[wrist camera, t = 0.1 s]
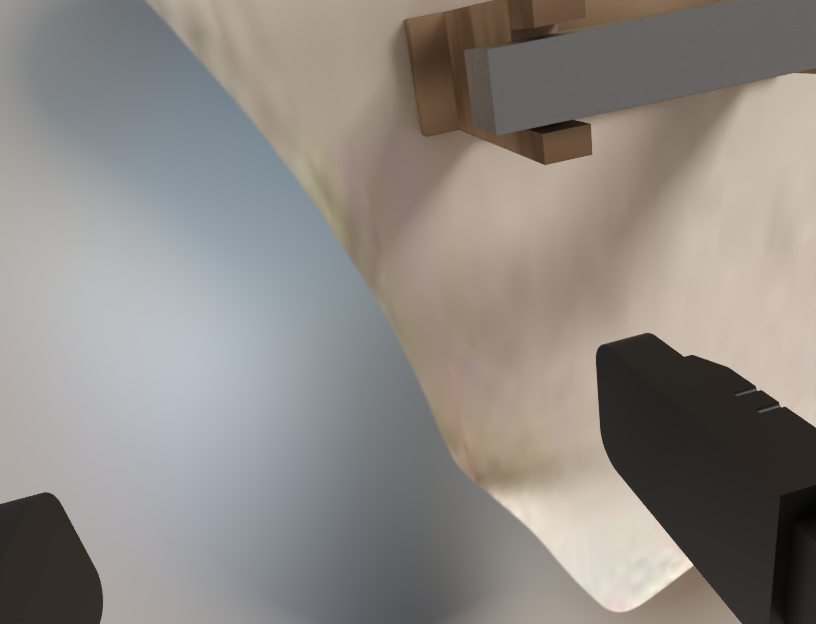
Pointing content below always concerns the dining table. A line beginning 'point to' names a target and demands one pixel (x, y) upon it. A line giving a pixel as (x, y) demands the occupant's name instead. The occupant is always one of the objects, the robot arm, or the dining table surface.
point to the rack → (497, 23)
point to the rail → (637, 61)
